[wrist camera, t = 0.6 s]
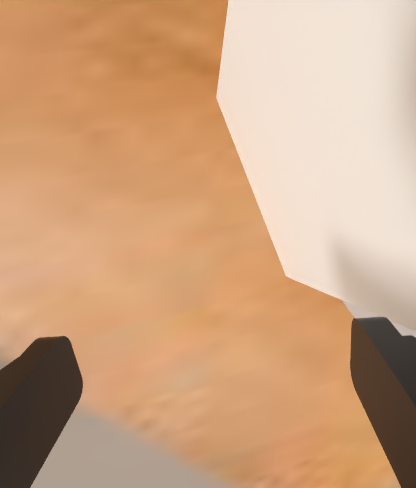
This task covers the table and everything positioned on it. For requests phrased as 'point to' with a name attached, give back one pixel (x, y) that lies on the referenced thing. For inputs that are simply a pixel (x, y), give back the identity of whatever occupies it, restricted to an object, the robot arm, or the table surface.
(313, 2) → the tall stand
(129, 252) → the table surface
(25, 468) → the robot arm
